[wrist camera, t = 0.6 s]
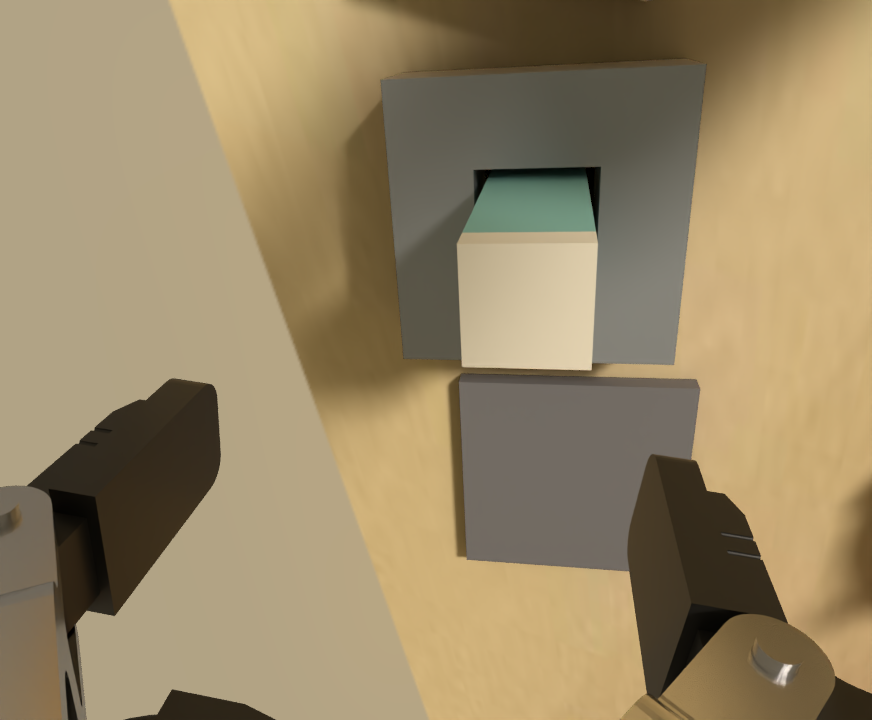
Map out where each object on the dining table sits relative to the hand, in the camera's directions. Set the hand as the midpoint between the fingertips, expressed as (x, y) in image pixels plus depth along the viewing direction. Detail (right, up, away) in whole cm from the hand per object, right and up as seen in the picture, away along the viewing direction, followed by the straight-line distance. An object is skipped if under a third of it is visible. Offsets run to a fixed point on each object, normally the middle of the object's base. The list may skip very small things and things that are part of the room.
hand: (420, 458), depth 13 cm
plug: (+5, +9, +20) cm, 22 cm away
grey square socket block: (+5, +9, +20) cm, 22 cm away
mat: (+8, -4, +26) cm, 27 cm away
